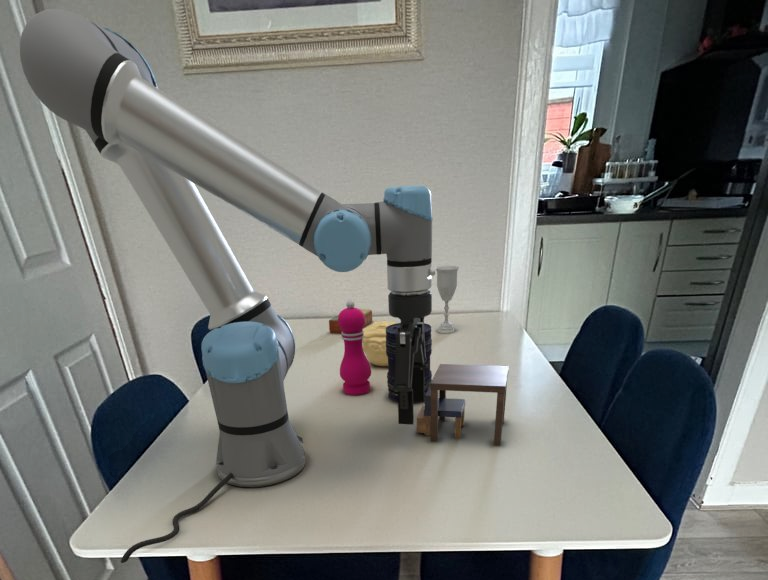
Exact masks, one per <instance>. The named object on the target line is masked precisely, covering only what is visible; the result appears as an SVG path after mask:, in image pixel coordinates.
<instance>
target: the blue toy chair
mask: <svg viewBox="0 0 768 580" xmlns="http://www.w3.org/2000/svg"><path fill="white" fill-rule="evenodd" d="M465 408H466V399H465V398H448V397H446V398H439V397H438V418H439V417H446V418H455V419H454V438H461V435H462V427H464V426H465V410H466V409H465ZM416 433H420V434H424V436H430V437H431V390H430V386H429V388H428V390H427V392H426V394H425V401H424V404H423V405H422V406H421V408H420V409H419V412H418V415H417V417H416Z"/></svg>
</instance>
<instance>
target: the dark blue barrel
mask: <svg viewBox="0 0 768 580" xmlns="http://www.w3.org/2000/svg"><path fill="white" fill-rule="evenodd" d="M400 323H401V322H396V324H393V325H390V326H387V327H386V355H387V357H388V366H387V373H386V377H387V382H386V384H387V385H386V386H387V391H388V395H387V396H388V400H389V401H391V402H392V403H396V404H398V392H397V391H393V387H394V385H395V357H396V337H395V334H396V332H398V327H400ZM424 334H425V349H426V358H427V359H426V362H424V363H428V368H422V369H424V402H425V394H426V392H427V390H428V388H429V386H430V383H431V381H432V379H433V374H432V369H431V355H432V353H433V352H432V351H433V349H432V345H433V339H432V326H431V325H430V324H428V323H425V322H424ZM413 369H414V368H413ZM420 403H422V402H413V405H415V404H420Z"/></svg>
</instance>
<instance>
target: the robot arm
mask: <svg viewBox="0 0 768 580" xmlns="http://www.w3.org/2000/svg"><path fill="white" fill-rule="evenodd" d="M19 58H20V63H21V64H20V65H21V67H22V71H23V74H24V76H25V78H26V81H27V83H28V85H29V87H30V88H31V90H32V91H33V93H34V95H35V96H36V97H37V98H38V100H39V101H40V102H41V103H42V104H43V106H45V107H46V108H47V109H48V110H49V111H50V112H52V113H53V114H54V115H55V116H57V117H59V118H60V119H62V120H64V121H66V122H68V123H70V124H73V125H75V126H77V127H79V128H81V129H83V130H85V131H86V133H87V135H88V137H89V139H90V140H91V141H92V143H93V144H94V146H95V148H96V150H97V151H98V152H99V154H100V156H101V157H102V158H103V159H105V160H107V161H109V162H112V163H115V164H116V165H118V166H119V167H120V169H121V171H122V172H123V174H124V176H125V177H126V179H127V181H128V182H129V183H130V185H131V187H132V188H133V190H134V192H135V193H136V195H137V197H138V198H139V200H140V202H141V203H142V205H143V207H144V208H145V210H146V212H147V213H148V215H149V217H150V218H151V220H152V222H153V223H154V224H155V227H156V228H157V230H158V231H159V233H160V235H161V237H162V238H163V240H164V242H165V243H166V244H167V246H168V247H169V249H170V251H171V252H172V254H173V255H174V257H175V260H176V261H177V262H178V264H179V265H180V267H181V270H182V271H183V272H184V274H185V275H186V277H187V279H188V281H189V282H190V284H191V286H192V287H193V288H194V291H195V292H196V294H197V295H198V297H199V298H200V300H201V302H202V303H203V305H204V306H205V308H206V310H207V311H208V314H209V321H208V326H207V329H208V330H209V332H208V333H206V335H205V336H204V337H203V339H202V341H201V345H200V346H201V347H200V348H201V355H202V357H201V360H202V366H203V368H204V370H205V375H206V380H207V382H208V387H209V391H210V396H211V400H212V404H213V408H214V409H213V410H214V413H215V418H216V421H217V426H218V431H219V436H218V442H217V443H218V444H217V450H216V451H217V452H216V458H215V459H216V460H215V466H216V470H217V474H218V475H217V476H218V477H219V478H220V479H221V481H220V482H218V484H217V485H215V487H214V488H213V489H212V490H210V491H209V493H208V494H207V495H206V496H205V497H204V498H203V499H202V500H201V501H199V503H197V504H195V505H194V506H192V507H189V508H187V509H184V510H181V511H179V512H178V513H177V514H175V515H174V516H173V518H172V525H173V529H172V531H171V532H170V533H168V534H165V535H163V536H159V537H154V538H150V539H145V540H142V541H139V542H137V543H135V544H132V546H130V547H129V548H128V549H127V550H126V551H125V552H124V554H123V556H122V557H121V559H120V563H121V564H124V563H126V562H127V561H129V559H130V557H131V556H132V555H133V554H134V553H135V552H136V551H138V550H139V549H142V548H144V547H147V546H151V545H156V544H161V543H164V542H167V541H170V540H171V539H173V538H175V537H176V536H177V535H178V534H179V532H180V524H179V520H180V519H181V518H182V517H185V516H187V515H190V514H193V513H195V512H197V511H199V510H200V509H202V508H203V507H204V506H205V505H206V504H208V502H209V501H210V500H211V499H212V498H213V497H214V496H215V495H216V494H217V492H218V491H220V490H221V489H222V488H223V487H224V486H226V484H229V485H231V486H234V487H241V488H259V487H266V486H271V485H272V486H273V485H276V484H279V483H282V482H285V481H286V480H289V479H291V478H293V477H295V476H296V475H298V474H299V473H300V472H301V471H302V470H303V469H304V467H305V465H306V455H305V450H304V447H303V445H302V444H303V443H304V439H303V437H302V436H300V435H298V434H297V433H296V431H295V430H294V427H293V426H292V424H291V422H290V418H289V411H288V405H287V399H286V391H285V382H284V381H285V379H286V377H287V374H288V372H289V370H290V368H291V367H292V365H293V364H294V360H295V355H296V341H295V340H296V339H295V336H294V335H295V334H294V332H293V330H292V328H291V327H290V325H289V323H288V322H287V321H286V320H285V319H284V318H283V317H282V316H280V315H279V314H278V313H276V310H275V309H274V307H273V305H272V304H271V302H270V300H269V298H268V297H267V294H263V293H260V292H257V291H256V290H254V288H253V287H252V285H251V283H250V281H249V280H248V278H247V275H246V274H245V272H244V271H243V269H242V267H241V265H240V264H239V262H238V260H237V258H236V256H235V254H234V253H233V251H232V249H231V247H230V245H229V244H228V241H227V239H226V238H225V236H224V234H223V233H222V230H221V229H220V227H219V226H218V224H217V222H216V220H215V218H214V216H213V215H212V213H211V211H210V209H209V207H208V206H207V204H206V202H205V200H204V198H203V197H202V195H201V193H200V191H199V190H198V188H197V186H198V187H200V188H202V189H203V190H205V191H207V192H208V193H210V194H211V195H213V196H215V197H217V198H218V199H220V200H222V201H224V202H225V203H226V204H229V205H231V206H232V207H234V208H236V209H237V210H239V211H240V212H243V213H244V214H245V215H248V216H249V217H251V218H253V219H255V220H256V221H258V222H260V223H261V224H262V225H264V226H267V227H268V228H270V229H271V230H273V231H274V232H276V233H278V234H280V235H281V236H283V237H285V238H287V239H288V240H290V241H292V242H294V244H296V245H298V246H300V247H301V248H303V249H305V250H306V251H307V252H309V253H311V254H313V256H316V257H317V258H318V259H319V260H320V261H321V262H322V264H323V265H324V266H325V267H327V268H328V269H329V270H332V271H334V272H337V273H348V272H351V271H354V270H356V269H357V268H358V267H360V266H361V265H362V264H363V263H364V262H365V260H367V258H368V256H374V255H376V256H377V255H378V256H379V255H386V279H387V289H388V291H390V292H389V293H388V295H387V298H388V302H387V303H388V314H389V315H390V316H391V317H392V318H395V319H399V320H400V322H399V323H400V327H398V332H396V334H395V337H396V357H395V385H394V387H393V391H397V392H398V403H397V418H398V420H397V421H398V425H411V426H413V425H414V423H415V422H414V421H415V419H414V404H413V402H421V403H425V401H424V369H422V368H428V363H424V362H426V359H427V358H426V349H425V334H424V323H425V317H428V316H429V315H431V314H432V312H433V309H432V308H433V302H432V301H433V293H432V292H431V290H430V289H431V288H432V277H433V276H436V269H432V259H433V254H432V253H433V210H432V209H433V208H432V193H431V190H430V189H429V188H428V187H427V186H425V185H404V186H403V185H401V186H389V187H386V188H385V190H384V192H383V193H384V194H383V195H384V196H383V200H382V201H377V202H370V203H368V202H366V203H341V202H339V201H337V200H336V199H334V198H333V197H331V196H329V195H328V194H326V193H324V192H322V190H320V189H318V188H317V187H315V186H313V185H312V184H310V183H309V182H307V181H306V180H304V179H302V178H301V177H300V176H298V175H296V174H295V173H294V172H291V171H289V169H286V168H285V167H284V166H282V165H280V164H279V163H277V162H275V161H274V160H273V159H271V158H269V157H268V156H266V155H264V154H263V153H261V152H259V151H258V150H257V149H255V148H253V147H251V146H250V145H248V144H247V143H245V142H244V141H242V140H240V139H239V138H237V137H236V136H234V135H233V134H231V133H230V132H227V130H224V129H223V128H221V127H220V126H219V125H216V123H214V122H212V121H210V120H209V119H207V118H206V117H204V116H202V115H201V114H199V113H198V112H196V111H194V109H191V108H190V107H188V106H187V105H185V104H183V103H182V102H180V101H179V100H177V99H175V98H174V97H172V96H171V95H170V94H168V93H166V92H164V91H162V90H161V89H160V88H159V87H158V84H157V79H156V77H155V74H154V72H153V70H152V68H151V67H150V65H149V63H148V61H147V60H146V58H145V57H144V56H143V54H142V53H141V52H140V51H139V50H138V49H137V48H136V47H135V46H134V44H132V43H131V42H129V40H128V39H126V38H125V37H124V36H123V35H121V34H119V33H118V32H116V31H114V30H112V29H109V28H106V27H103V26H101V25H98V24H97V23H95V22H93V21H91V20H89V19H87V18H85V16H82V15H81V14H78V13H76V12H73V11H70V10H67V9H63V8H48V9H44V10H41V11H39V12H37V13H35V14H34V15H33V16H32V17H31V18H30V19H28V21H27V22H26V24H25V25H24V28H23V30H22V31H21V35H20V39H19ZM413 368H414V369H413ZM301 443H302V444H301Z"/></svg>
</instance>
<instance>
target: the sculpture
mask: <svg viewBox="0 0 768 580" xmlns="http://www.w3.org/2000/svg"><path fill="white" fill-rule="evenodd" d="M393 324H397V322H396V321H387V320H382V321H374V322H372V324H369V325H367V326H365V327H363V328H362V330H363V331H364V333H363V334H364V338H362V345H363V350H364V353H365V356H366V358H367V360H368V362H369V363H371V364H372V365H374V366H376V367H377V366H378V367H388V357H387V355H386V327H387V326H390V325H393Z"/></svg>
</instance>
